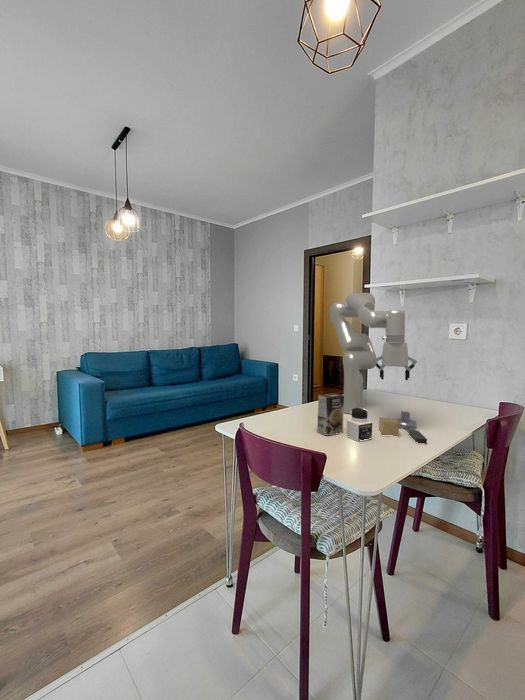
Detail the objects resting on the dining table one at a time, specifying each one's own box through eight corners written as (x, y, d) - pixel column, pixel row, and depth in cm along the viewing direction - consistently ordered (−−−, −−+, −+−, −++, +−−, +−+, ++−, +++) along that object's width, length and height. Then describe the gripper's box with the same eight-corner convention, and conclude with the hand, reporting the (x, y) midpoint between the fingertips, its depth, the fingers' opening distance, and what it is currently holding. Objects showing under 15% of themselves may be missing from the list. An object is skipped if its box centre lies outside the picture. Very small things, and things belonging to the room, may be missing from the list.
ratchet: (409, 443, 128) (410, 427, 128) (392, 422, 155) (392, 409, 154) (434, 444, 127) (434, 428, 127) (412, 423, 153) (412, 410, 153)
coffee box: (327, 436, 135) (328, 397, 134) (316, 432, 140) (317, 394, 139) (343, 433, 140) (344, 395, 138) (332, 428, 145) (333, 392, 144)
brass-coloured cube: (382, 436, 136) (382, 421, 136) (378, 431, 143) (379, 417, 142) (398, 436, 135) (399, 422, 135) (394, 431, 142) (394, 418, 141)
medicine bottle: (358, 442, 129) (359, 412, 128) (346, 436, 135) (346, 407, 134) (372, 439, 132) (373, 409, 131) (359, 434, 139) (360, 405, 138)
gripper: (374, 339, 140) (373, 380, 141) (418, 339, 135) (418, 381, 136) (372, 339, 147) (372, 377, 148) (415, 339, 143) (414, 379, 143)
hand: (394, 379), depth 142 cm, fingers open, 9 cm apart
